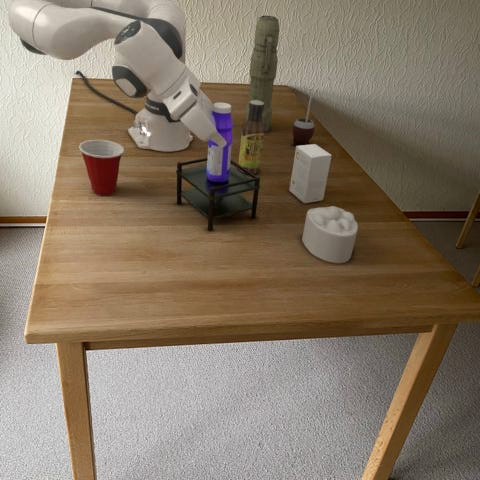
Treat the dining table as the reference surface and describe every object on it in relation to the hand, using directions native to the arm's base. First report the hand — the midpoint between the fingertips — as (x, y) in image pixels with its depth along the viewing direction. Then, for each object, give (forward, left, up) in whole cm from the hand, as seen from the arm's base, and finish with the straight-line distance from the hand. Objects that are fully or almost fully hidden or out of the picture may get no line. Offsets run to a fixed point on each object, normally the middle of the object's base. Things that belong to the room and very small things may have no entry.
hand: (223, 137), depth 118 cm
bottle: (0, -1, -10) cm, 10 cm away
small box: (+4, +26, -19) cm, 33 cm away
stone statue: (-44, +45, -19) cm, 66 cm away
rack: (0, -1, -19) cm, 19 cm away
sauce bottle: (-16, +21, -19) cm, 33 cm away
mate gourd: (-26, +50, -19) cm, 60 cm away
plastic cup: (-22, -21, -19) cm, 36 cm away
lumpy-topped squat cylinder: (+27, +13, -19) cm, 36 cm away
